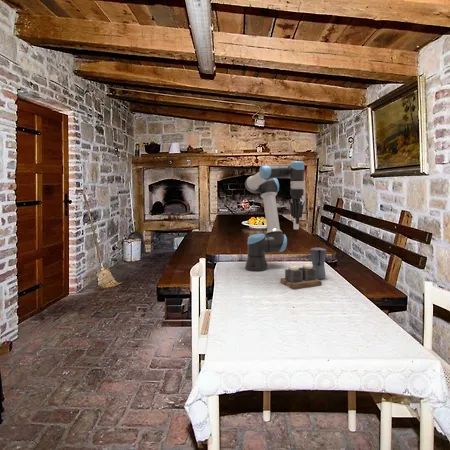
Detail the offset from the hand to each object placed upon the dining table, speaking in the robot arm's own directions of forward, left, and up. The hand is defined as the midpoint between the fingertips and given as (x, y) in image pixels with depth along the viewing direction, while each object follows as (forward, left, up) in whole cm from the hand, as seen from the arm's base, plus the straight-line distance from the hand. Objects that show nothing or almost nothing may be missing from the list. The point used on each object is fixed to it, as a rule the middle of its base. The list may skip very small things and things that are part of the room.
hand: (296, 229), depth 198 cm
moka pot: (+2, +14, -31) cm, 34 cm away
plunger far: (+9, +2, -27) cm, 29 cm away
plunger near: (+9, -7, -27) cm, 30 cm away
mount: (+9, -3, -30) cm, 32 cm away
